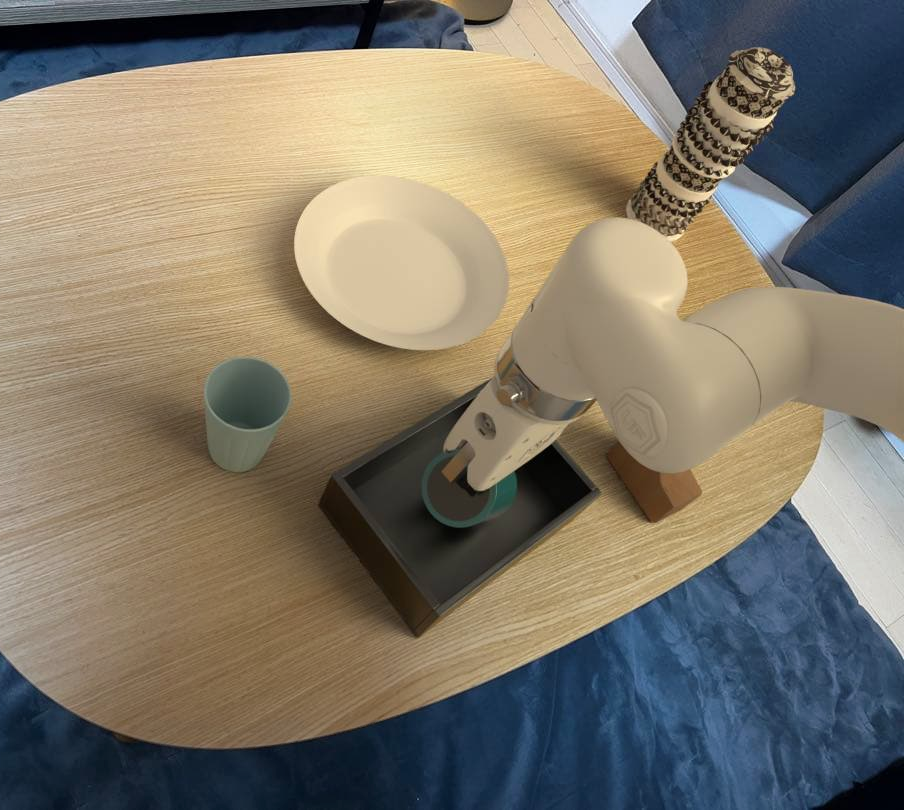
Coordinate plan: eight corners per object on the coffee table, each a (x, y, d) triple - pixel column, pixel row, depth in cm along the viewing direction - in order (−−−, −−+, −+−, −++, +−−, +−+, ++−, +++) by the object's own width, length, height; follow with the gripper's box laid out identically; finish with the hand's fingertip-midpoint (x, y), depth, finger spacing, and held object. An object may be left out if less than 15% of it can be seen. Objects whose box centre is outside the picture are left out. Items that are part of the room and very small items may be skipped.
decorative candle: (654, 253, 110) (775, 100, 90) (609, 203, 113) (716, 44, 92) (699, 233, 114) (825, 82, 94) (654, 185, 117) (766, 28, 97)
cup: (277, 416, 85) (292, 360, 77) (275, 485, 82) (291, 435, 73) (200, 409, 84) (207, 351, 75) (194, 479, 80) (201, 427, 71)
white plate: (308, 373, 89) (314, 354, 86) (274, 195, 101) (278, 173, 98) (523, 363, 96) (535, 345, 93) (468, 198, 108) (477, 177, 105)
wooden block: (681, 510, 91) (789, 430, 76) (651, 525, 89) (755, 446, 74) (633, 441, 94) (727, 351, 79) (603, 454, 92) (693, 365, 77)
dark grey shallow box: (572, 520, 87) (603, 493, 81) (417, 639, 77) (439, 617, 71) (476, 406, 92) (498, 373, 86) (317, 504, 82) (330, 474, 76)
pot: (485, 433, 83) (461, 432, 76) (532, 489, 81) (512, 494, 74) (433, 479, 85) (405, 483, 77) (478, 534, 83) (454, 543, 75)
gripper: (514, 460, 55) (432, 558, 70) (653, 362, 62) (550, 471, 77) (441, 374, 57) (376, 488, 72) (583, 289, 64) (497, 410, 79)
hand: (466, 479), depth 75 cm, fingers closed
